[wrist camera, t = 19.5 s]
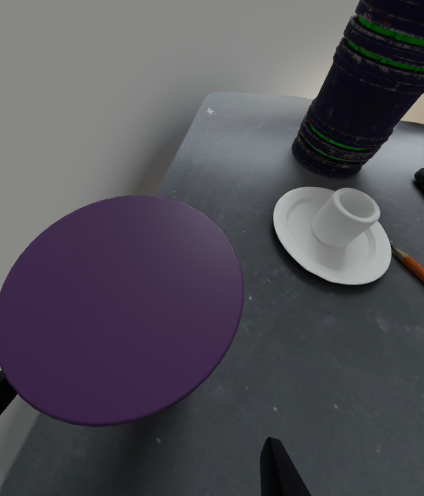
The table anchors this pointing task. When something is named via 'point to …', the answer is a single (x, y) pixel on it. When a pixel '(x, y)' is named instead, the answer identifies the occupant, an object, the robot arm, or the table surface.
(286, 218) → the candle holder
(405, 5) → the dark blue cylinder
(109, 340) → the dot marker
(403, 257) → the pencil
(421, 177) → the game console
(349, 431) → the table surface
